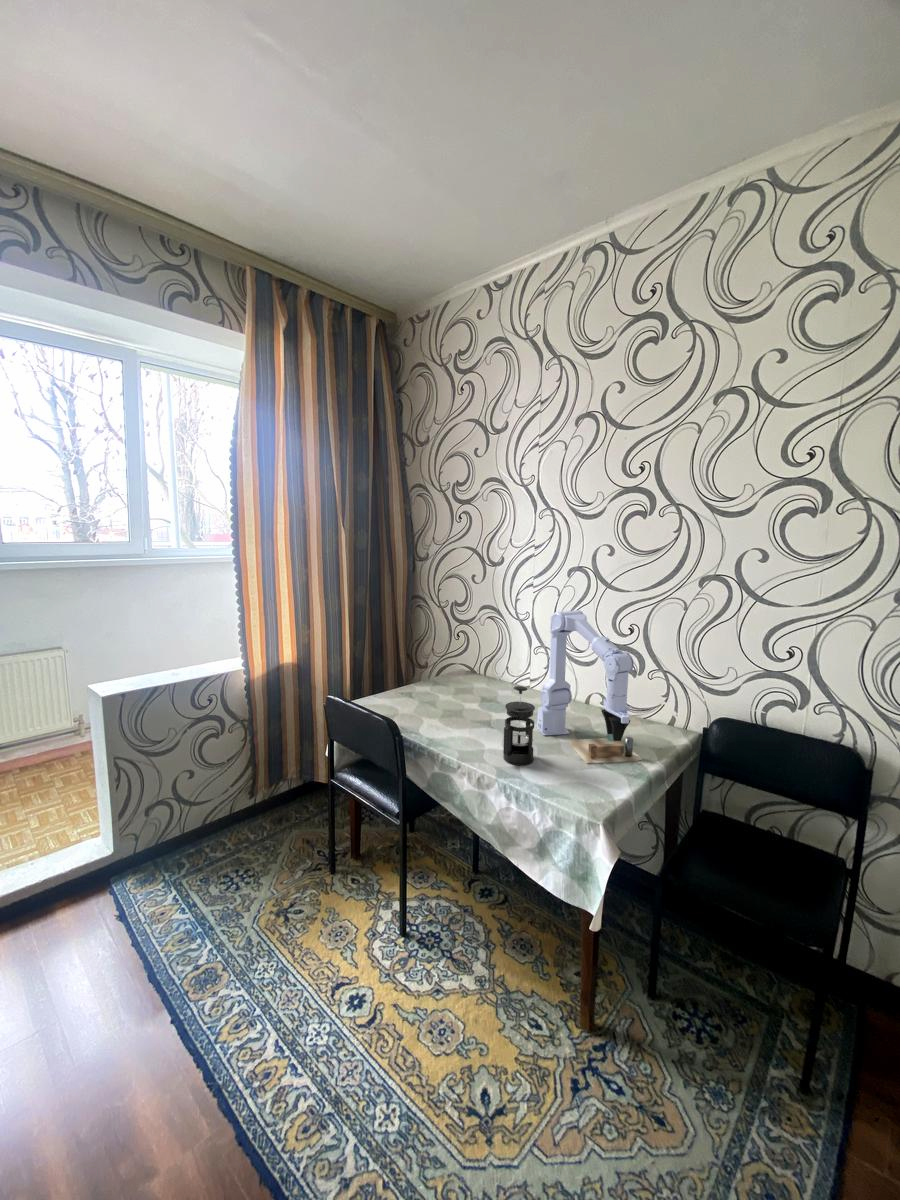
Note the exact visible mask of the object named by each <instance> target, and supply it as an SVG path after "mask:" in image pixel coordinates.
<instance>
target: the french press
mask: <svg viewBox="0 0 900 1200" xmlns="http://www.w3.org/2000/svg"><path fill="white" fill-rule="evenodd" d="M513 690H515V691H517V692H518V694H519V701H510V702H507V703H506V704H505V709H506V714H507V715H508V716H509V717H507V718H506V719H504V727H503V752H502V753H503V760H504V761H505V763H507V764H509V765H513V766H519V767H520V766H528V765H530V764H532V763H534V760H535V756H534V747H533V741H534V739H533V738H534V737H533V733H534V729H535V721H534V720H533V719H531V717H533V716H534V711H535V710H536V707H535V704H533V703H530V702H526V701H522V694H523V692H525V691H528V687H527V686H525V685H524V686H523V685H516V686H514V687H513ZM515 721H518V726H512V723H511V722H515ZM521 721H523V722H525V727H521ZM516 732H517V733H516ZM515 753H519V754H515Z"/></svg>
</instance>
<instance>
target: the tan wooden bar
mask: <svg viewBox="0 0 900 1200" xmlns="http://www.w3.org/2000/svg"><path fill="white" fill-rule="evenodd" d="M623 754H624V745H623V744H621V743H616V744H600V745H595V744H589V748H588V755H589V756H590V758H593V757H606V756H622V755H623Z"/></svg>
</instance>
